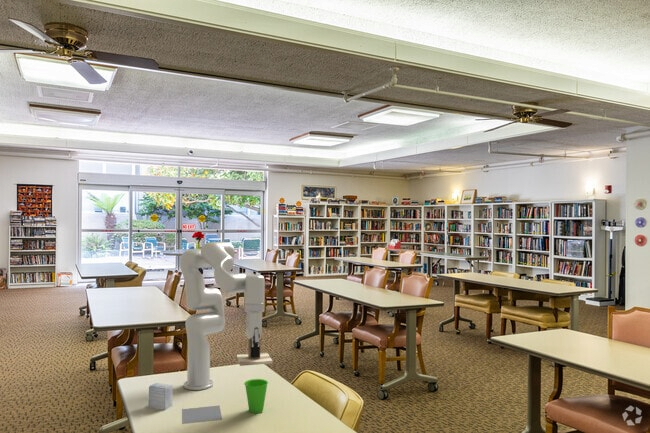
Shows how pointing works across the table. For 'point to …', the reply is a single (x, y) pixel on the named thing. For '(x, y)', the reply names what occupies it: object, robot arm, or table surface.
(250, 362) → the lid
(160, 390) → the medicine box
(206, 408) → the mat
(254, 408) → the cup
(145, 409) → the table surface
